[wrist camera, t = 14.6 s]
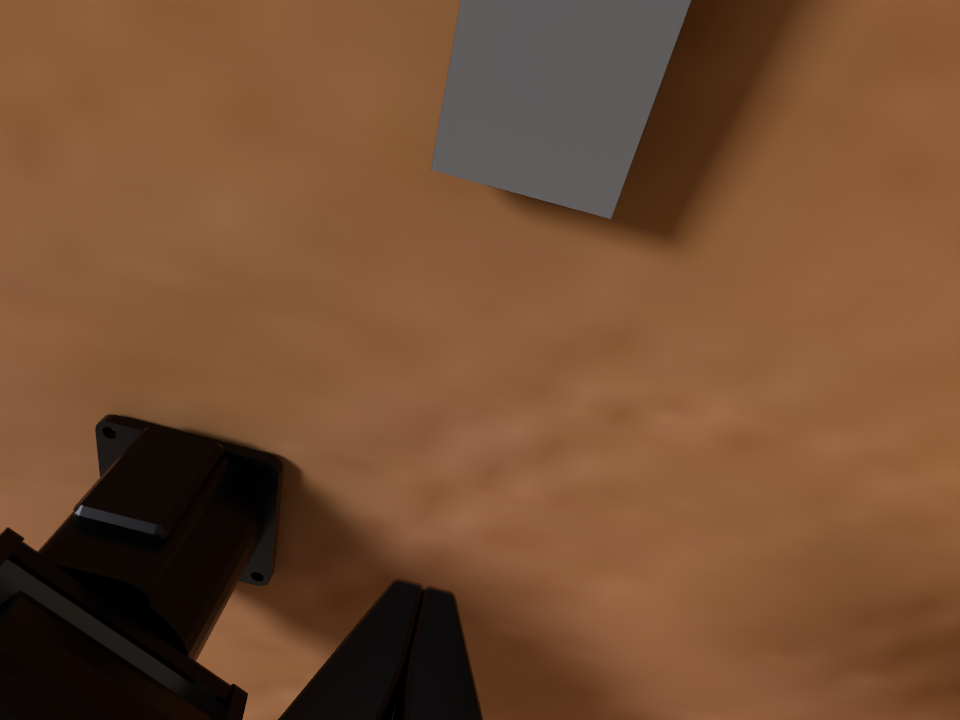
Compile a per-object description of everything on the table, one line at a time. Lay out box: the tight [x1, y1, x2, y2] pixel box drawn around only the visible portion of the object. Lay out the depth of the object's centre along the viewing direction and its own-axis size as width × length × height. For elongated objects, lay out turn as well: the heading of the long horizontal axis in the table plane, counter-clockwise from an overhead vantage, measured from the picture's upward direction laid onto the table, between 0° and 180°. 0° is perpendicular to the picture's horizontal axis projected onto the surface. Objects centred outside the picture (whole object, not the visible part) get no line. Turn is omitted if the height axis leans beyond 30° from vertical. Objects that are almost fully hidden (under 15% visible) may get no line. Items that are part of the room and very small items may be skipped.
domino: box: [431, 0, 691, 219], centre depth 15 cm, size 2×4×8 cm
